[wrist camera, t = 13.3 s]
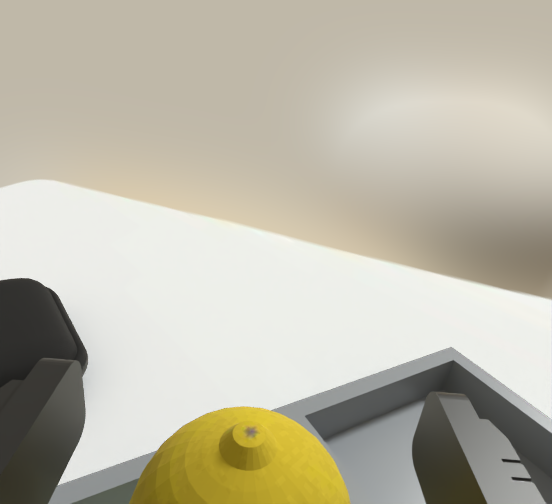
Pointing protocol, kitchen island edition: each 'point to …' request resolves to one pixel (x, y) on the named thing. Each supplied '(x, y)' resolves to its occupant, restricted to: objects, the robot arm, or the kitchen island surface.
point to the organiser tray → (376, 432)
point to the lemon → (241, 463)
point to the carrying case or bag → (34, 329)
